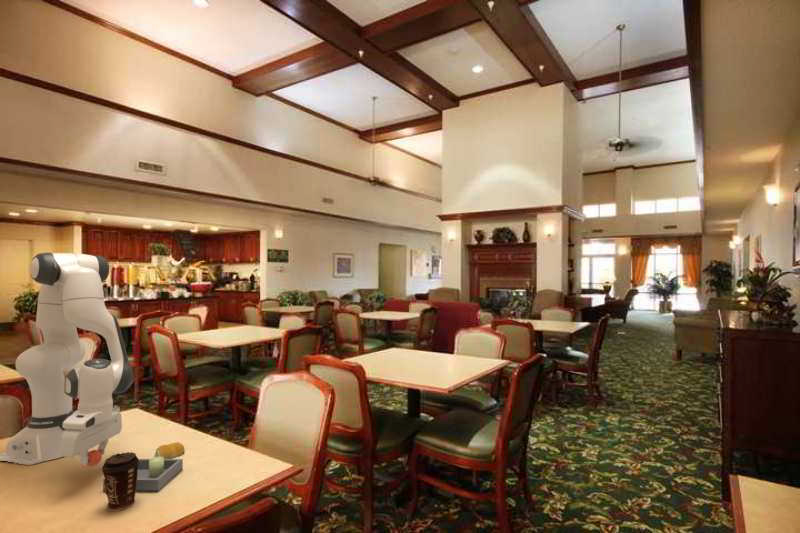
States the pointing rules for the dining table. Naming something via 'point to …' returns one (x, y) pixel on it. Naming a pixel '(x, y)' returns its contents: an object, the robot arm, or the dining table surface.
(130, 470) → the coffee cup
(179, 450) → the bread roll
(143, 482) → the bin
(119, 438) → the dining table surface
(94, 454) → the red ball
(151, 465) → the pale green capsule
